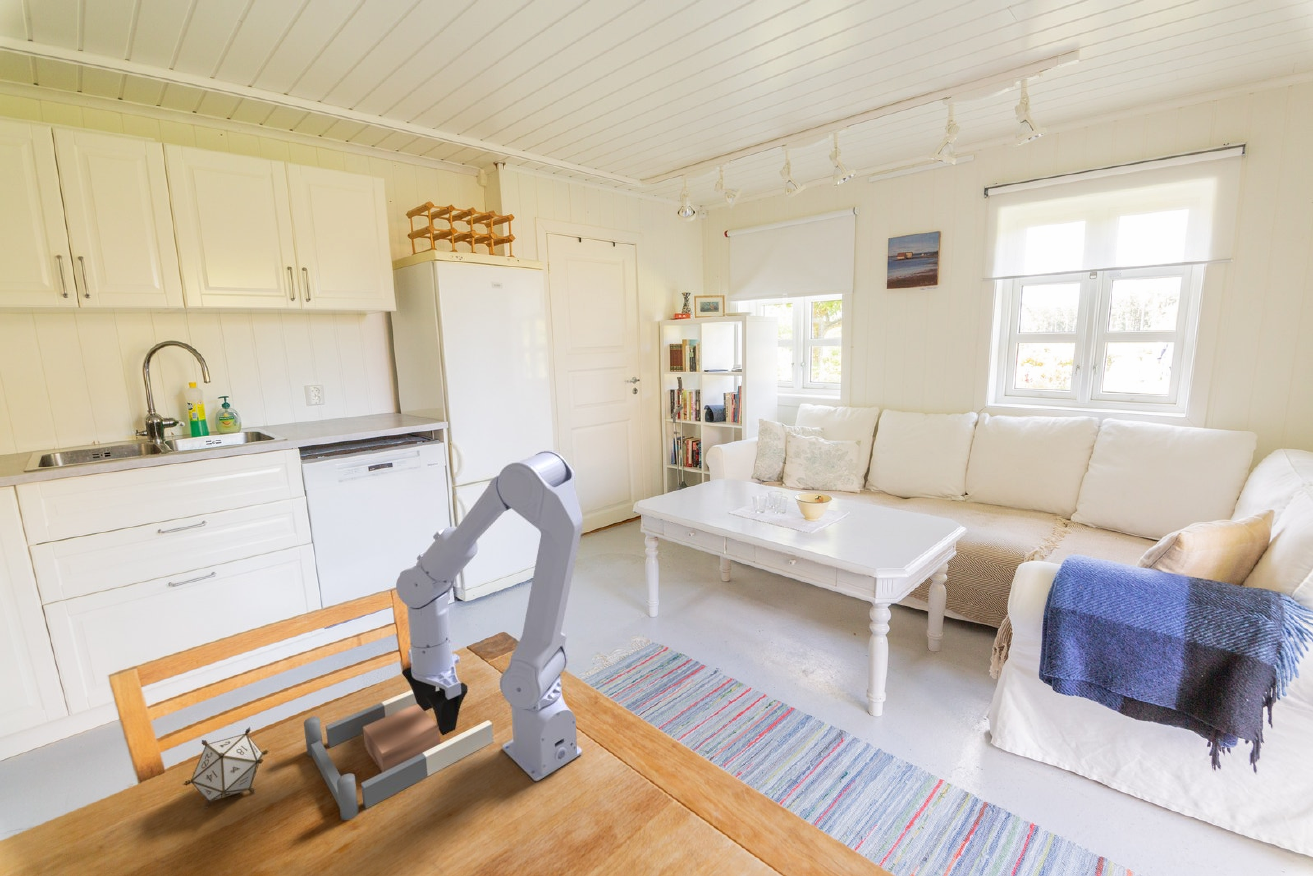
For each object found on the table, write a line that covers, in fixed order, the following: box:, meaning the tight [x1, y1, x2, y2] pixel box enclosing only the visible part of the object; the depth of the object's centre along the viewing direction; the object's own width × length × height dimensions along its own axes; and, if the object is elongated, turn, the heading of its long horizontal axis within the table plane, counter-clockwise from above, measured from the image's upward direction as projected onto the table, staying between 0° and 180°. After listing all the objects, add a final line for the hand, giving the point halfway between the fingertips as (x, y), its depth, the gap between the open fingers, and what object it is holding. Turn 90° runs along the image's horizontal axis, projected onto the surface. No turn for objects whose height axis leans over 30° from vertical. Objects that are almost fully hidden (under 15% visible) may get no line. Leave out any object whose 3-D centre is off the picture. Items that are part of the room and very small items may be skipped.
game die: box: [182, 726, 270, 810], centre depth 76 cm, size 9×8×10 cm
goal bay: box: [303, 701, 429, 822], centre depth 82 cm, size 18×11×5 cm, turn 44°
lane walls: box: [381, 686, 494, 777], centre depth 89 cm, size 17×10×3 cm, turn 44°
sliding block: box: [363, 703, 441, 773], centre depth 85 cm, size 8×8×4 cm
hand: (437, 720), depth 89 cm, fingers open, 7 cm apart
